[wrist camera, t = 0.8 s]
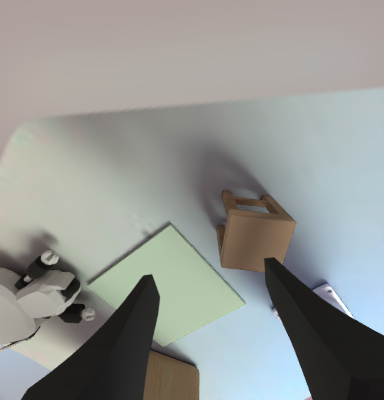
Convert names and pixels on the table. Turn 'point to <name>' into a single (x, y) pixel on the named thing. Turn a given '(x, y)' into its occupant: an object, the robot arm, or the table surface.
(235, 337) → the table surface
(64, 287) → the robot toy
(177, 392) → the wooden block
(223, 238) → the brown handled box
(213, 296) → the sage mat
